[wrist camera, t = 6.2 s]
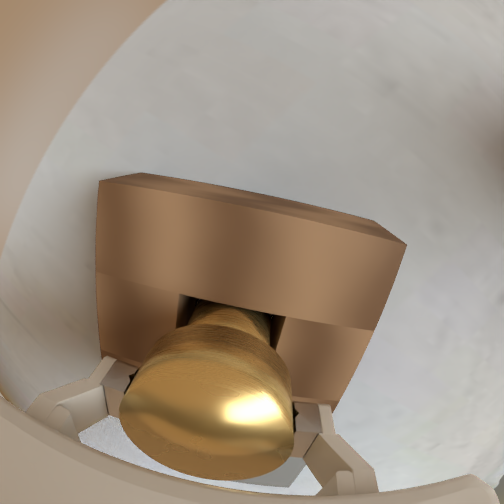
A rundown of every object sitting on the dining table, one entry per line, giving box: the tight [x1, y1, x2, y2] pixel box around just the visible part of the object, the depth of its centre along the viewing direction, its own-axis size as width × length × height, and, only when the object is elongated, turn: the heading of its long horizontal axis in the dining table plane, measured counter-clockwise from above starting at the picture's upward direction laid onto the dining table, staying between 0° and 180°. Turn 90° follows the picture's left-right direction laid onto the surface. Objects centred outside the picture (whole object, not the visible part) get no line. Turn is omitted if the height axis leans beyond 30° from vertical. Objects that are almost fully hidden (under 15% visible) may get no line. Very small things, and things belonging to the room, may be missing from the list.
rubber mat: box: [228, 457, 306, 487], centre depth 24 cm, size 12×12×1 cm
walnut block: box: [96, 173, 407, 413], centre depth 16 cm, size 14×14×5 cm
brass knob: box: [119, 299, 294, 480], centre depth 12 cm, size 6×6×8 cm
